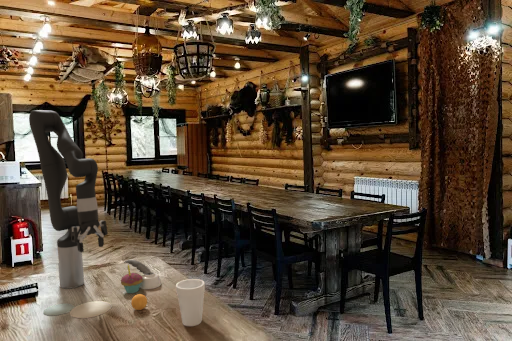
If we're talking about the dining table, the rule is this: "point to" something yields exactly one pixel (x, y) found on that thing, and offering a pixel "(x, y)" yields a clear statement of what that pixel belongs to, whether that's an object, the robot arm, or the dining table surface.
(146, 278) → the inkwell
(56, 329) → the dining table surface
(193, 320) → the foam cup
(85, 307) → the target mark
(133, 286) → the cupcake
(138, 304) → the ball
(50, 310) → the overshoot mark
